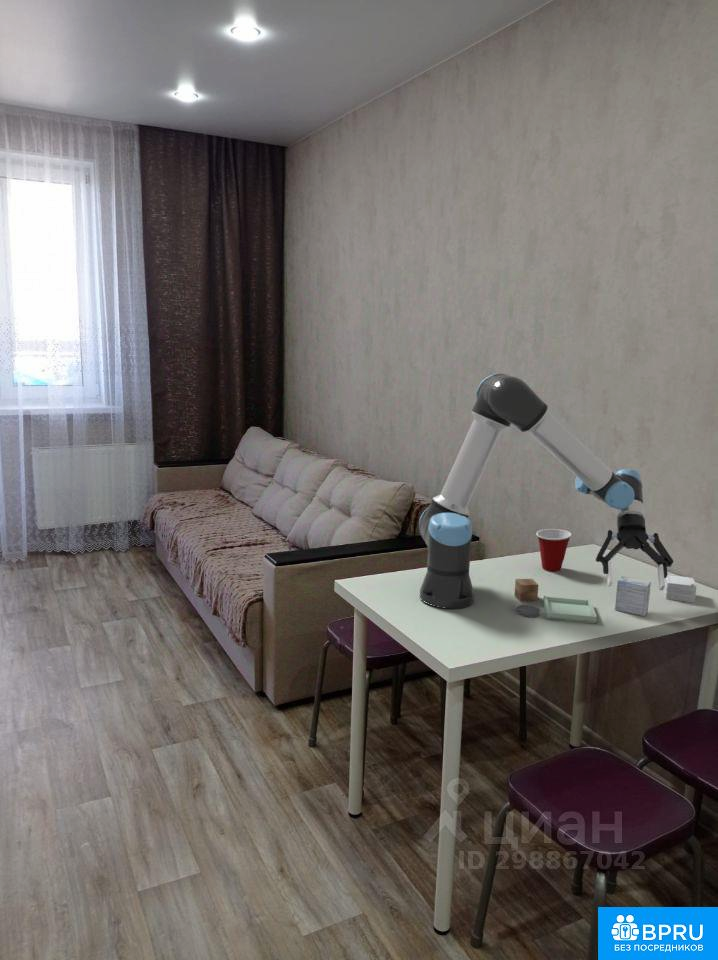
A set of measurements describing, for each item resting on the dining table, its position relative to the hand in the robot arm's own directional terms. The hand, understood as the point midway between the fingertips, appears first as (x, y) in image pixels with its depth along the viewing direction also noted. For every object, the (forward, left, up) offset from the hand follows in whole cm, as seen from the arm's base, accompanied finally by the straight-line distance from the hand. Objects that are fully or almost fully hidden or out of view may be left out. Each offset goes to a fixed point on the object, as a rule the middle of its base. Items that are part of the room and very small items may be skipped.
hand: (636, 586), depth 198 cm
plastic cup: (-20, +31, -7) cm, 37 cm away
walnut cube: (-29, +2, -7) cm, 30 cm away
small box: (+15, +14, -7) cm, 22 cm away
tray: (-18, -6, -7) cm, 20 cm away
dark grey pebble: (-29, -9, -7) cm, 31 cm away
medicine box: (-1, -1, -7) cm, 7 cm away
